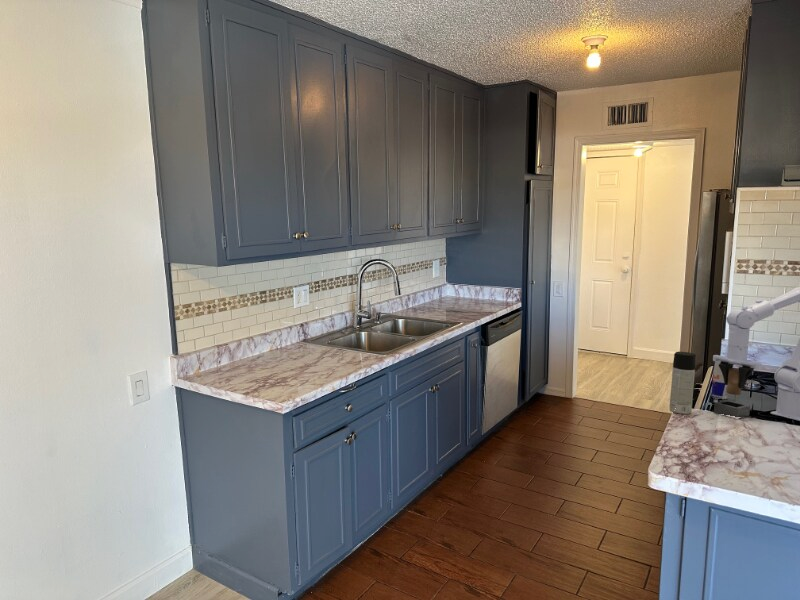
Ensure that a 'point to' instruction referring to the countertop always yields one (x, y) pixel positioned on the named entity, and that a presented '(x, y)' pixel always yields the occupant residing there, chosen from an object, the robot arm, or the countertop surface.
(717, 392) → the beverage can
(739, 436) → the countertop surface
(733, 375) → the peg
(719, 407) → the socket
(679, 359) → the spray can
